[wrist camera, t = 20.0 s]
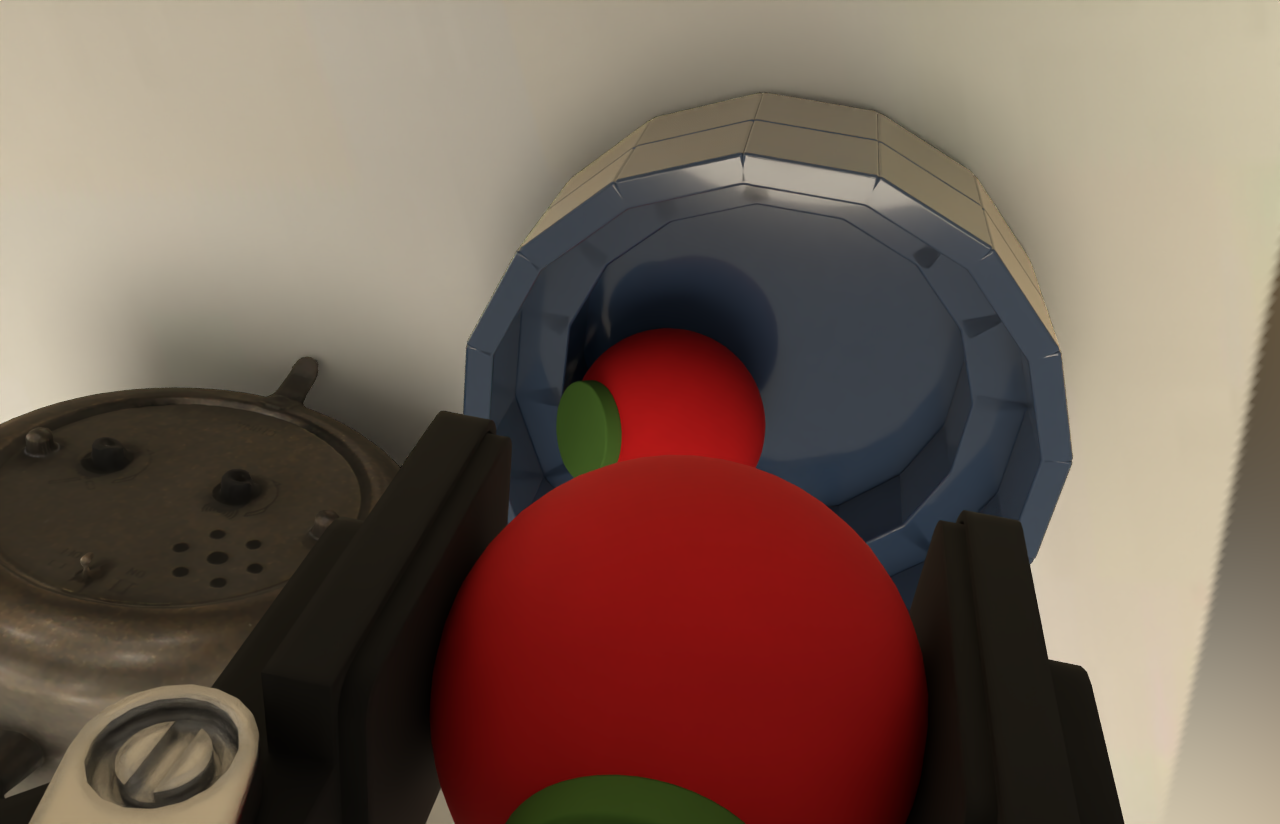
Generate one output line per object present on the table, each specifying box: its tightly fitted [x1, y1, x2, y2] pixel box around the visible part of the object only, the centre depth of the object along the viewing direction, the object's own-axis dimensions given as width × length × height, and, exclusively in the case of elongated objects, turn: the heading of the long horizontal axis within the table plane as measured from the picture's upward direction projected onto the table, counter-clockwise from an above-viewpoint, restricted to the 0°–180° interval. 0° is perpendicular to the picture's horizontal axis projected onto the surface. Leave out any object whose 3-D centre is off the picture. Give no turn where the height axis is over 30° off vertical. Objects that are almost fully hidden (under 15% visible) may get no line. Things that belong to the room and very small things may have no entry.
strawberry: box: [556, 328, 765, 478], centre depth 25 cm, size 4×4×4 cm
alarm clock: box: [0, 357, 400, 800], centre depth 24 cm, size 11×5×16 cm, turn 79°
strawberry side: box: [430, 455, 928, 824], centre depth 10 cm, size 4×4×4 cm
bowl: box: [463, 93, 1073, 612], centre depth 25 cm, size 12×12×5 cm
